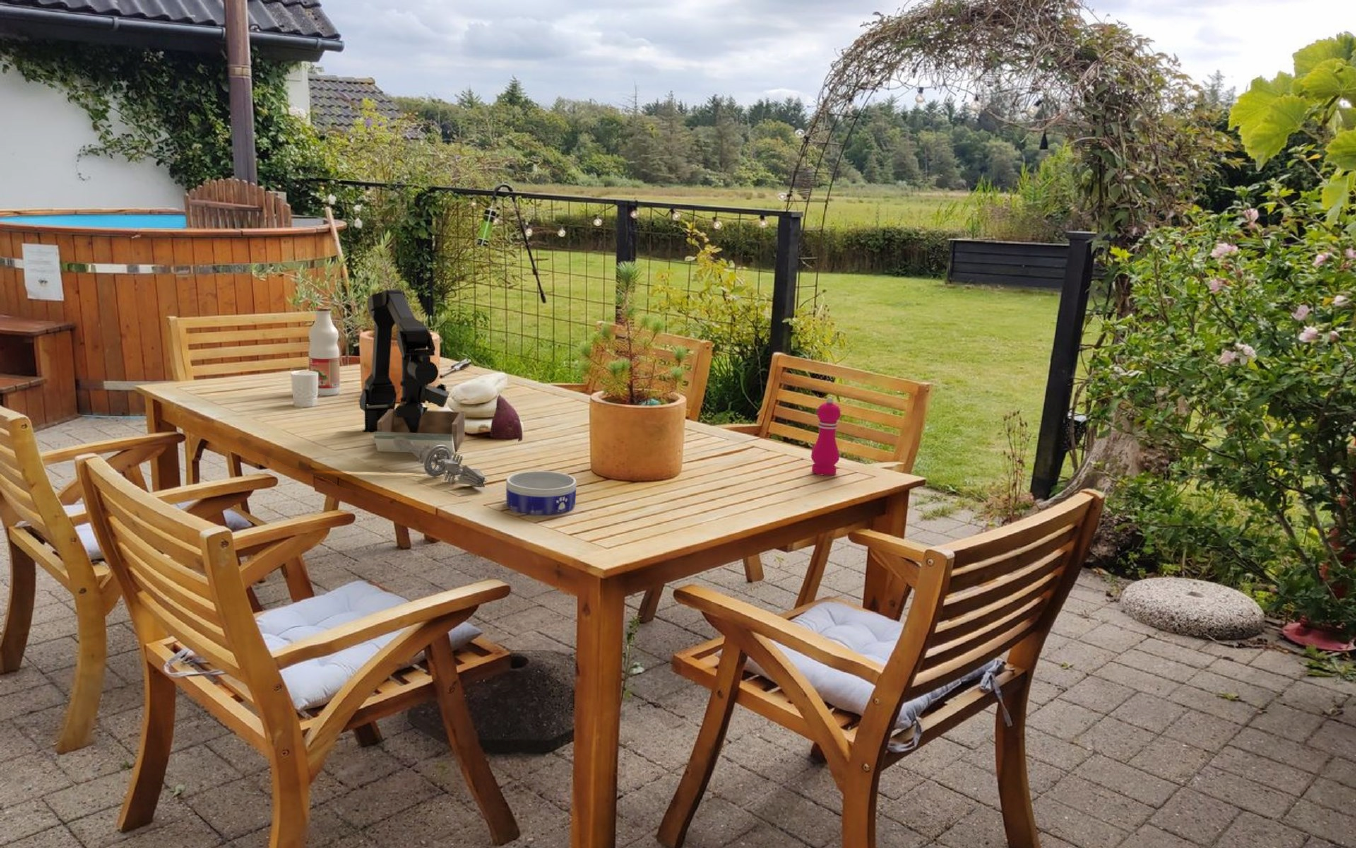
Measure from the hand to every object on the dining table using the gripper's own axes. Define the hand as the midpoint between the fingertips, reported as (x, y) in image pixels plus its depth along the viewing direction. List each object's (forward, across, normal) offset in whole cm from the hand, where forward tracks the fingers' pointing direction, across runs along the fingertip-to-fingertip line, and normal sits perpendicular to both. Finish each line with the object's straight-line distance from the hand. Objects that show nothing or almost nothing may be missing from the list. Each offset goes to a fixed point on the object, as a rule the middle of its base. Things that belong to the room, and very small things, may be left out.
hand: (414, 436), depth 260 cm
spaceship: (+5, -17, -8) cm, 20 cm away
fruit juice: (+8, +78, +42) cm, 89 cm away
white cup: (+7, +60, +43) cm, 74 cm away
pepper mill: (+6, -4, -105) cm, 105 cm away
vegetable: (+7, +24, -21) cm, 33 cm away
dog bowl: (+5, -38, -34) cm, 51 cm away
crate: (+6, +12, 0) cm, 14 cm away
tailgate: (+5, +3, 0) cm, 6 cm away
